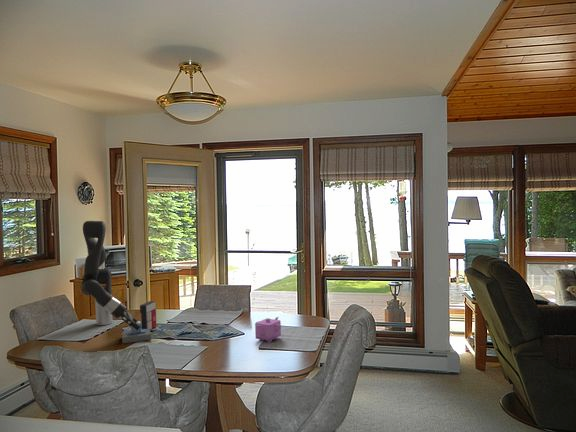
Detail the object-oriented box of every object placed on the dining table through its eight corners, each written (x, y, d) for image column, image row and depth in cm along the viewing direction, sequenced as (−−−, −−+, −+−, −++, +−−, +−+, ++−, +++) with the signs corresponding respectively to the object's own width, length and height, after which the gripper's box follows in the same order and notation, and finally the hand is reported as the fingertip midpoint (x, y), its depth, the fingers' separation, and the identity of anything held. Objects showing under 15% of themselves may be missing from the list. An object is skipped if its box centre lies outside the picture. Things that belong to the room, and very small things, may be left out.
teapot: (283, 343, 224) (283, 321, 223) (256, 345, 221) (256, 323, 221) (279, 334, 239) (278, 314, 238) (254, 336, 236) (253, 316, 236)
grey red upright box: (147, 332, 250) (146, 305, 249) (140, 331, 251) (139, 305, 250) (157, 326, 260) (156, 301, 260) (150, 326, 261) (149, 301, 261)
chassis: (122, 337, 242) (122, 331, 241) (149, 333, 246) (149, 328, 246) (122, 343, 230) (122, 337, 230) (150, 339, 235) (150, 334, 235)
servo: (127, 338, 239) (126, 322, 238) (145, 336, 242) (144, 320, 241) (127, 340, 235) (126, 324, 235) (145, 338, 238) (144, 322, 238)
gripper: (119, 304, 228) (144, 324, 233) (120, 299, 242) (143, 318, 246) (109, 316, 227) (133, 335, 231) (110, 310, 240) (133, 328, 244)
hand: (138, 326), depth 238 cm, fingers open, 8 cm apart
